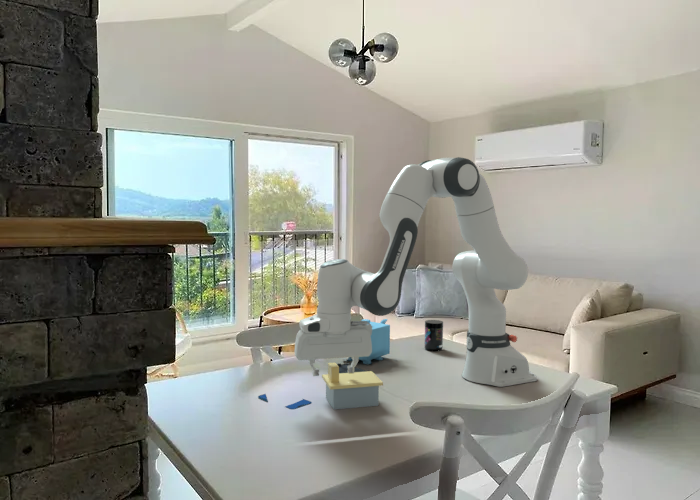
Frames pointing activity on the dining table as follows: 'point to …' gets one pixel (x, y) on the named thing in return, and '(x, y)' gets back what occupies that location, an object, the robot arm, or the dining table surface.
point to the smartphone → (292, 406)
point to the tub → (352, 397)
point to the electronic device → (344, 368)
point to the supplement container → (433, 335)
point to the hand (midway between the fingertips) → (333, 374)
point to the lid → (349, 378)
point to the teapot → (377, 341)
